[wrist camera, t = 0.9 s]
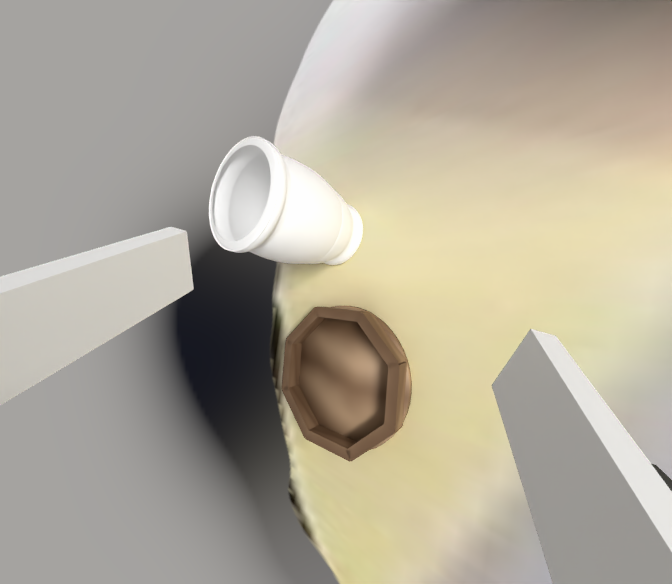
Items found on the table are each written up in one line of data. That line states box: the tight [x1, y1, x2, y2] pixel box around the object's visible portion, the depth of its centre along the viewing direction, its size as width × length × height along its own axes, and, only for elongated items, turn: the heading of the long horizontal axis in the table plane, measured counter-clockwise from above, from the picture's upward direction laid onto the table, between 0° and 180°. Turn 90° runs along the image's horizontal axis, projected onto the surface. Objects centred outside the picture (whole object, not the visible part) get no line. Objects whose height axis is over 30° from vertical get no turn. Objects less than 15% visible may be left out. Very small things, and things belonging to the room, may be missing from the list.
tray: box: [282, 306, 412, 461], centre depth 32 cm, size 17×17×3 cm
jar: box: [209, 136, 363, 265], centre depth 29 cm, size 11×10×15 cm
